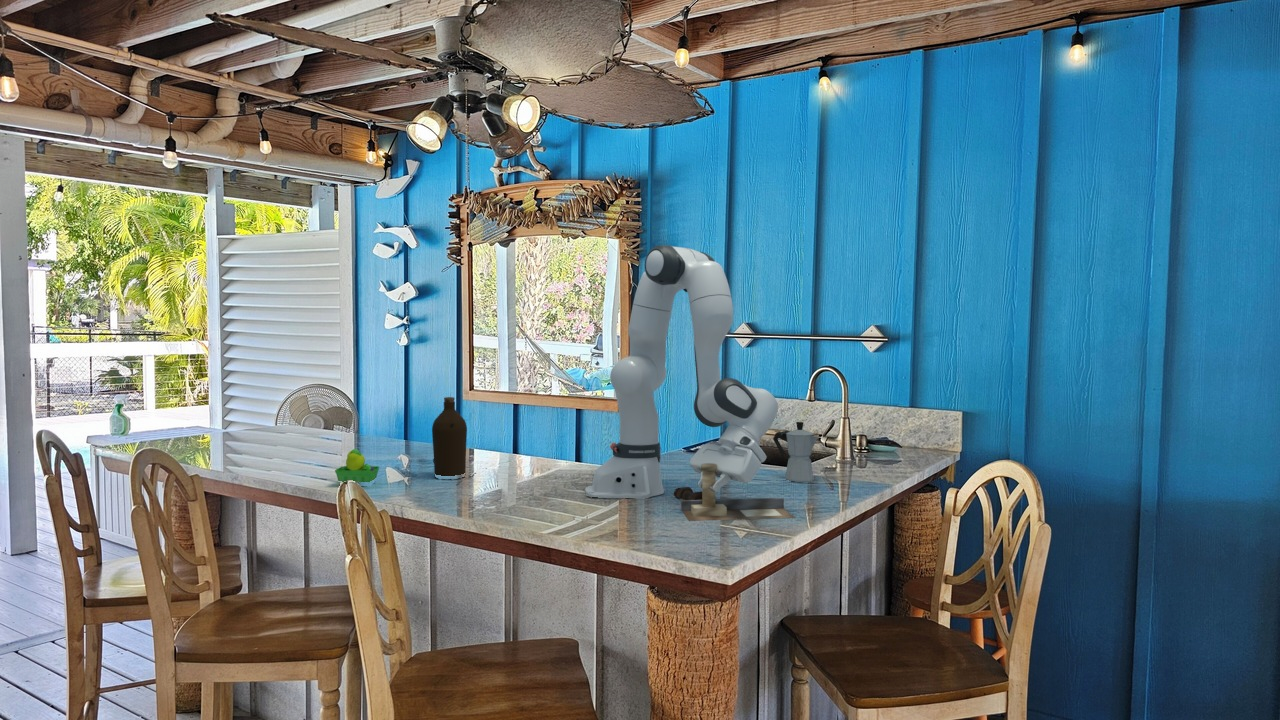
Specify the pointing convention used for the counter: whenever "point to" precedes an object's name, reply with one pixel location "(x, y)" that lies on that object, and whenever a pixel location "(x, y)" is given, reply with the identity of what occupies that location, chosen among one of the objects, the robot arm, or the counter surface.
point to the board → (741, 509)
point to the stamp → (708, 495)
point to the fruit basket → (356, 469)
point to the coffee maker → (798, 453)
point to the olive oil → (449, 441)
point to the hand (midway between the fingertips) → (706, 488)
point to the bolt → (687, 494)
